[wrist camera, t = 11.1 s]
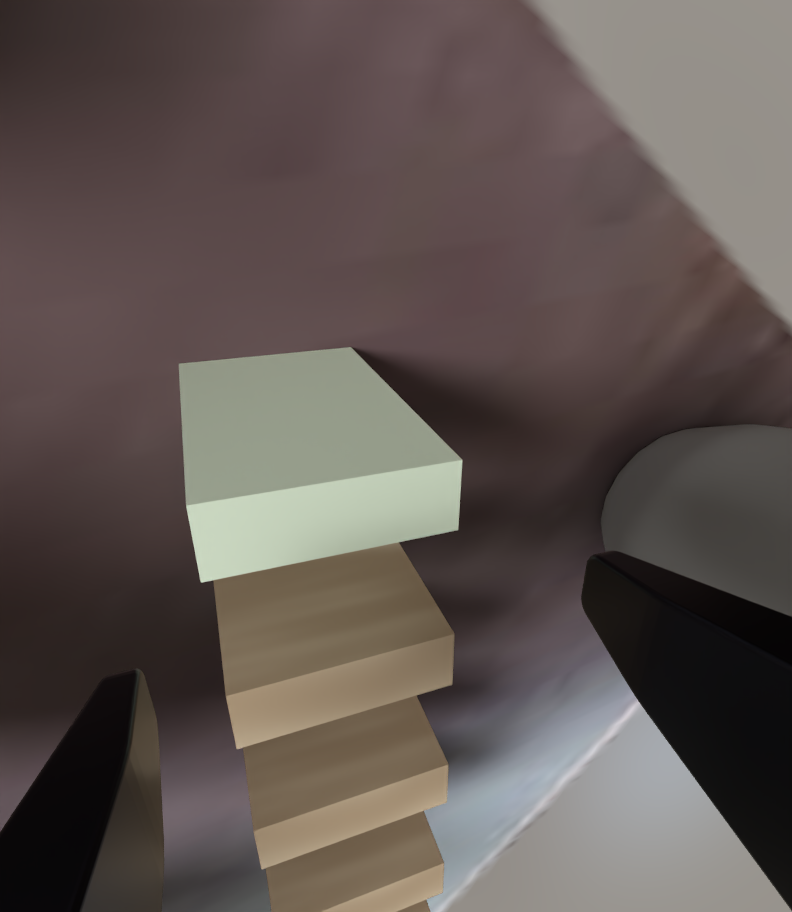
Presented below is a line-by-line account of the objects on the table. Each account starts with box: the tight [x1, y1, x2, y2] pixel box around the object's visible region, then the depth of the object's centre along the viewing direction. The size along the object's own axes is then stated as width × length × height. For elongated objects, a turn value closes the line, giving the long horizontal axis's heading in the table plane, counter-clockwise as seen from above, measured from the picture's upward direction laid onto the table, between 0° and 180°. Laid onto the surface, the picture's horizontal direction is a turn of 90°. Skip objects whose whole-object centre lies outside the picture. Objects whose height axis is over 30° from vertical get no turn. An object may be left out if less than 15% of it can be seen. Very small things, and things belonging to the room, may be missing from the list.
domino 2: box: [213, 542, 455, 749], centre depth 16 cm, size 2×5×8 cm, turn 91°
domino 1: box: [179, 347, 462, 583], centre depth 14 cm, size 2×5×8 cm, turn 91°
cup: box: [600, 424, 792, 616], centre depth 21 cm, size 10×9×10 cm
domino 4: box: [266, 811, 444, 912], centre depth 20 cm, size 2×5×8 cm, turn 91°
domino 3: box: [243, 696, 449, 869], centre depth 18 cm, size 2×5×8 cm, turn 91°
